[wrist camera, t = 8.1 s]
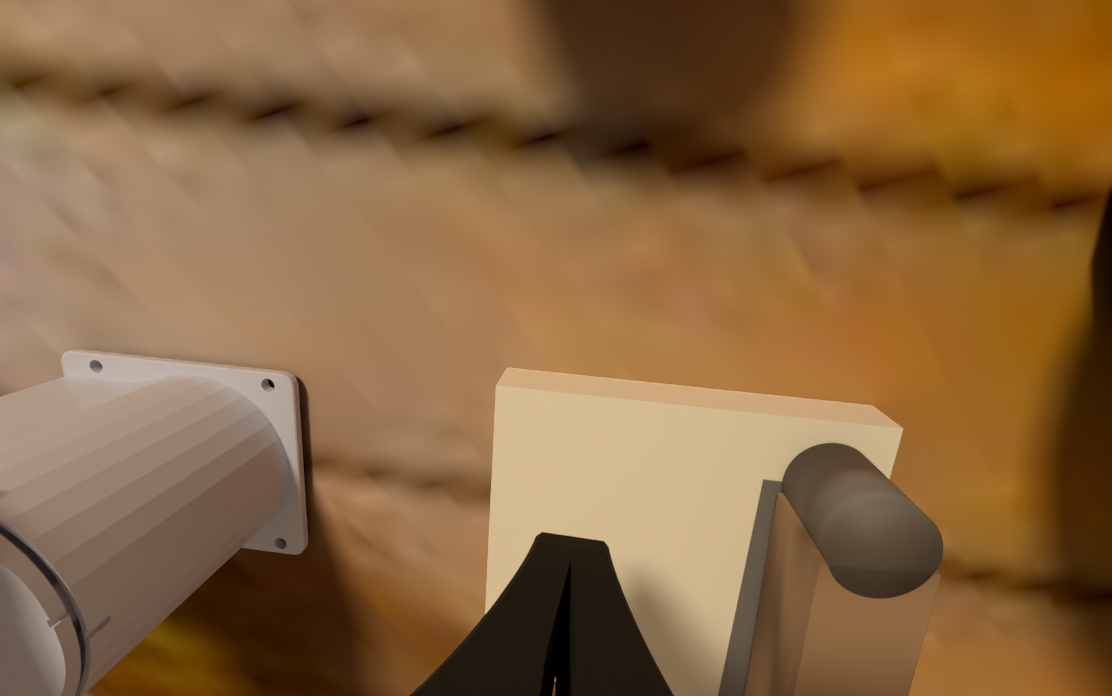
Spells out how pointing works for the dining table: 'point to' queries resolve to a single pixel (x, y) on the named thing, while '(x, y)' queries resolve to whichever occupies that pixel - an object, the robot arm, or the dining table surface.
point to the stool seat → (662, 498)
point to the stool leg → (843, 582)
